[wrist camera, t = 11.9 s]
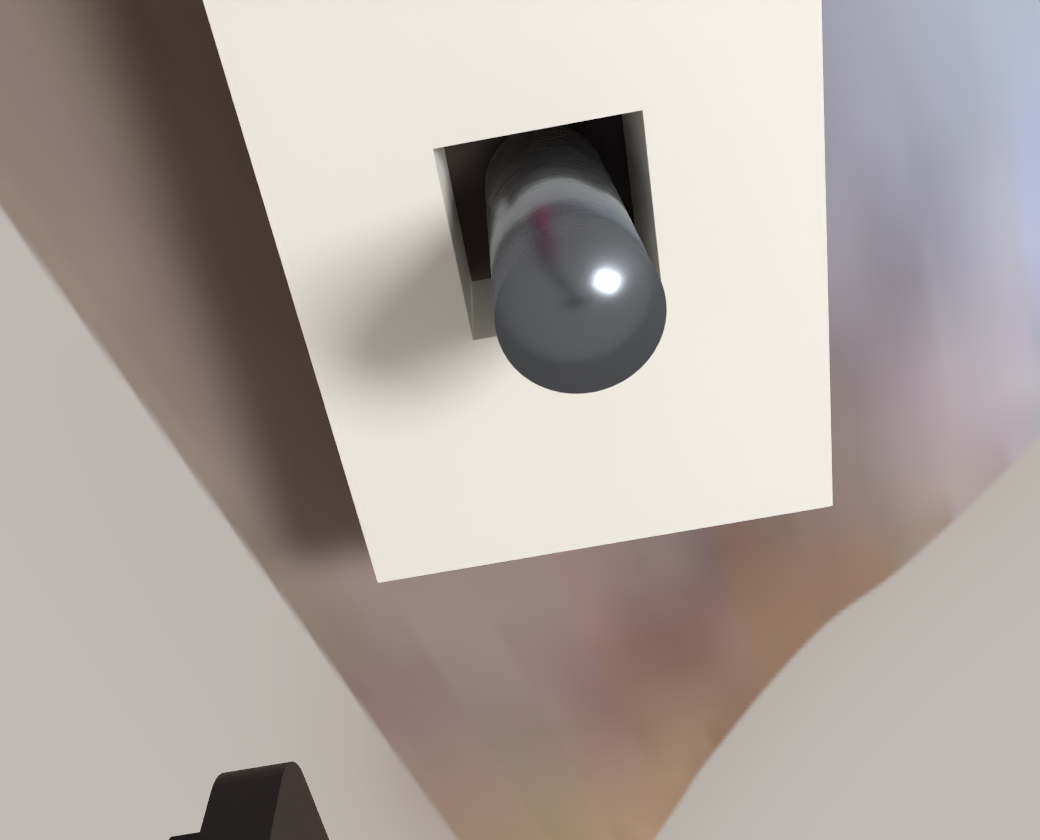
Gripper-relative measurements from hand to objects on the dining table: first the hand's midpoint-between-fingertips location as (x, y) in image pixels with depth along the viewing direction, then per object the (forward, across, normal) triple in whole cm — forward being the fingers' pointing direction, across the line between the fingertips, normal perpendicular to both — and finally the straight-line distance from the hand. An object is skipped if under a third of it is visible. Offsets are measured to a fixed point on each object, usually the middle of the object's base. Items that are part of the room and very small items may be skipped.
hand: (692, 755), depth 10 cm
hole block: (+22, 0, 0) cm, 22 cm away
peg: (+22, 0, 0) cm, 22 cm away
